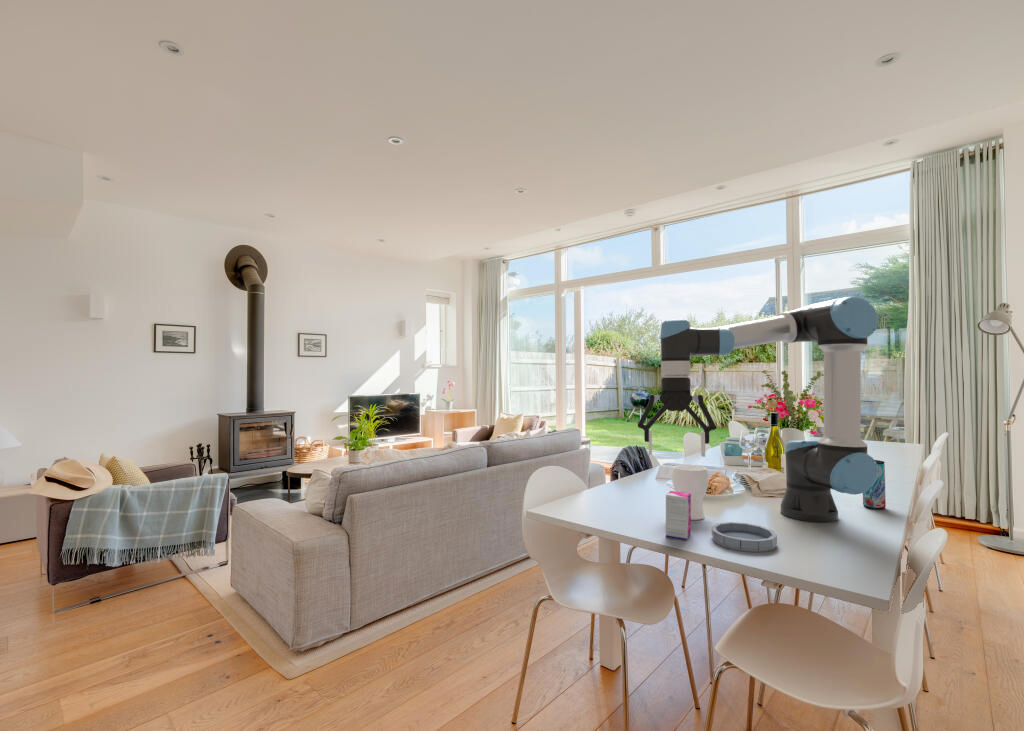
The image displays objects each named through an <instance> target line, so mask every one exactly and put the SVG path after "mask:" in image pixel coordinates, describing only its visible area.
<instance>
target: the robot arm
mask: <svg viewBox="0 0 1024 731" xmlns="http://www.w3.org/2000/svg"><path fill="white" fill-rule="evenodd" d="M876 310H877V309H875V307H874V305H872V304H871V303H870V302H869V300H866V299H864V298H863V297H859V296H845V297H838V298H835V299H830V300H827V301H826V300H825V301H822V302H815V303H812V304H809V305H806V306H803V307H800V308H796V309H794V310H790V311H789V310H788V311H784V312H781V313H779V314H778V315H777V316H773V317H769V318H764V319H762V318H761V319H756V320H751V321H744V322H739V323H738V322H737V323H733V324H728V325H723V326H715V327H691V324H690V321H689V320H688V319H669V320H668V319H667V320H665V321H663V322H661V327H660V337H659V338H660V354H661V356H660V374H661V376H662V377H661V379H660V380H661V382H660V383H661V384H660V387H661V388H660V389H661V393H660V395H657V394H656V395H655V394H650V395H649V400H648V403H647V405H646V407H645V409H644V410H643V413H642V415H641V416H640V419H639V421H638V423H637V427H638V428H639V429H642V430H643V432H644V442H645V443H648V455H650V456H652V454H653V446H652V445H653V438H652V437H653V434H652V433H653V432H652V429H651V427H652V426H654V424H655V423H656V422H657V421H658V420H659V419H660V417H661V416H662V415H664V414H665V412H666V411H669V412H674V411H677V412H684V411H686V412H687V413H688V414H689V415H690V416H691V417H692V418H693V419H694V420H695V422H696V423H697V424H698V425H699V426H700V427H701V428H702V429H703V430H701V431H700V456H701V457H702V458H706V445H708V444H710V432H711V431H715V430H716V429H717V428H718V427H717V425H716V423H715V422H714V419H713V417H712V415H711V414H710V412H709V410H708V409H707V407H706V405H705V403H704V402H705V401H704V396H703V395H702V394H698V395H692V394H691V378H690V377H689V376H690V375H691V357H705V356H727V355H730V354H731V353H732V352H733V351H734V350H737V349H744V348H748V347H754V346H760V345H765V344H773V343H778V342H779V343H780V342H782V343H784V344H791V343H792V344H793V343H800V342H801V343H802V342H804V343H805V342H806V343H807V342H809V343H810V342H817V347H818V348H819V349H820V350H821V351H822V352H823V436H822V437H821V438H820V439H817V440H815V439H814V440H811V439H810V440H809V439H807V440H806V439H805V440H803V439H802V440H789V441H787V442H786V443H785V452H784V454H785V470H786V471H785V472H786V473H785V479H786V480H785V481H786V484H785V485H786V489H785V490H784V491H785V492H784V493H783V498H782V500H781V502H780V513H781V515H783V516H786V517H788V518H792V519H796V520H800V521H806V522H813V523H814V522H816V523H830V522H832V523H833V522H836V521H838V520H839V511H838V507H837V505H836V503H835V500H834V498H833V495H832V491H831V490H833V491H835V492H838V493H842V494H848V495H854V496H855V495H861V494H863V493H864V492H866V491H867V490H869V488H870V487H872V486H873V485H874V483H875V482H876V480H877V477H878V466H877V463H876V462H875V461H874V460H875V458H874V457H872V456H871V455H869V454H868V444H867V443H866V442H865V441H863V439H862V437H861V436H862V435H861V433H862V432H861V428H862V426H861V423H862V422H861V419H862V418H861V415H862V414H861V413H862V412H861V409H862V408H861V400H862V399H861V392H862V391H861V390H862V389H861V384H862V382H861V377H862V376H861V375H862V374H861V367H862V366H861V365H862V363H861V362H862V361H861V360H862V359H861V353H862V351H863V350H864V349H866V347H868V338H869V337H870V336H872V335H873V334H874V333H875V331H876V330H877V328H878V325H879V316H878V313H877V311H876ZM658 400H659V401H660V402H661V403H662V406H661V407H660V408H659V409H658V410H657V411H656V413H655V414H654V415H653V416H652V417H651V419H649V421H647V423H646V424H644V423H645V422H646V420H647V418H648V416H649V414H650V412H651V410H652V408H653V406H654V404H655V403H657V402H658ZM692 401H694V402H695V403H696V404H698V406H699V408H700V410H701V412H702V413H703V415H704V418H705V420H706V421H707V423H708V424H709V425H706V423H705V422H704V421H703V420H702V419H701V418H700V416H699V415H698V414H697V413H696V412H695V411H694V410H693V409H692V408H691V406H690V404H691V403H692Z"/></svg>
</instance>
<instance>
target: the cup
mask: <svg viewBox="0 0 1024 731" xmlns="http://www.w3.org/2000/svg"><path fill="white" fill-rule="evenodd" d="M671 477H672V478H671V480H672V481H671V482H672V485H673V487H674V491H675V492H683V493H690V494H691V521H692V520H693V521H694V520H695V521H697V520H703V519H704V518H705V513H704V508H703V503H704V496H705V494H706V493H707V490H708V487H709V484H710V482H709V480H710V479H709V473H708V470H707V467H705V466H702V465H697V464H677V465H674V466H673V469H672V474H671Z"/></svg>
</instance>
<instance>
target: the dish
mask: <svg viewBox="0 0 1024 731" xmlns="http://www.w3.org/2000/svg"><path fill="white" fill-rule="evenodd" d="M711 536H712V538H711V539H712V541H713V542H714V543H715V544H717V545H719V546H721V547H722V548H723V547H724V548H727V549H730V550H734V551H739V552H745V553H766V552H771V551H774V550H775V549H776V548H777V544H778V535H777V533H776V532H775V531H774V530H772V529H771V528H770V529H769V528H768V527H765V526H762V525H757V524H752V523H748V522H735V521H727V522H719V523H716V524H715V523H714V525H712V526H711Z"/></svg>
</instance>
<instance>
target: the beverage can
mask: <svg viewBox="0 0 1024 731" xmlns="http://www.w3.org/2000/svg"><path fill="white" fill-rule="evenodd" d="M874 461H875V462H876V463H877V466H878V477H877V480H876V482H875V483H874V485H873V486H872V487H870V488H869V490H867V491H866V492H864V493H862V505H863V507H865V508H867V509H870V510H878V511H879V510H882V511H883V510H885V509H886V507H887V506H886V470H885V469H886V466H885V465H886V464H885V461H884V460H878V459H874Z"/></svg>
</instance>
